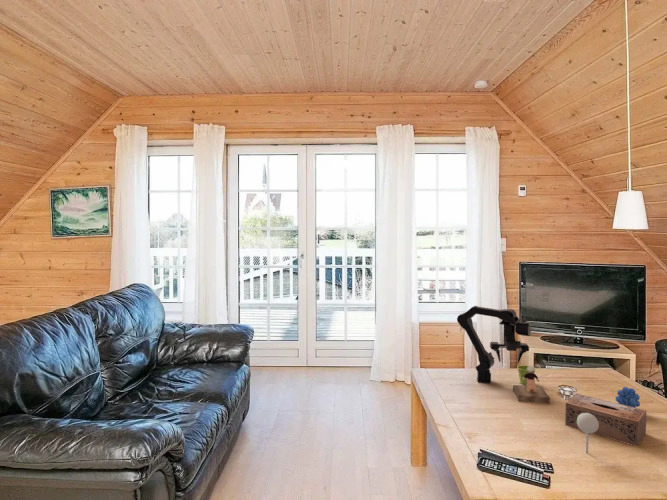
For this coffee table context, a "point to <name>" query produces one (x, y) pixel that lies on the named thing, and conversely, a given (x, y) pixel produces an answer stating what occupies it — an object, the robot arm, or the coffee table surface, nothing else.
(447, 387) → the coffee table surface
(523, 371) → the plant pot
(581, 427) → the lollipop
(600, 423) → the tissue box cover
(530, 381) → the grandmother figurine
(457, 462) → the coffee table surface
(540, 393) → the walnut base
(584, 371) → the coffee table surface
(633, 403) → the blue flower
